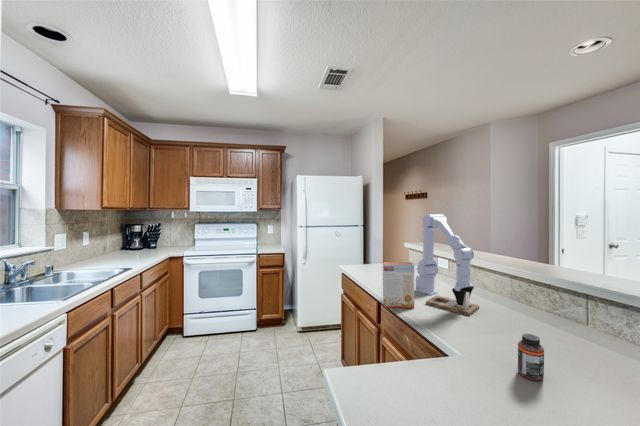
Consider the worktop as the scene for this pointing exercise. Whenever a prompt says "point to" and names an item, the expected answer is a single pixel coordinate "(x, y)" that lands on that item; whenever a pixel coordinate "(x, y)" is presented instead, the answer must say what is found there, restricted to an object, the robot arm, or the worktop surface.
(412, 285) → the cracker box
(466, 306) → the plug
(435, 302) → the socket panel
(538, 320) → the worktop surface
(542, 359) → the supplement bottle
